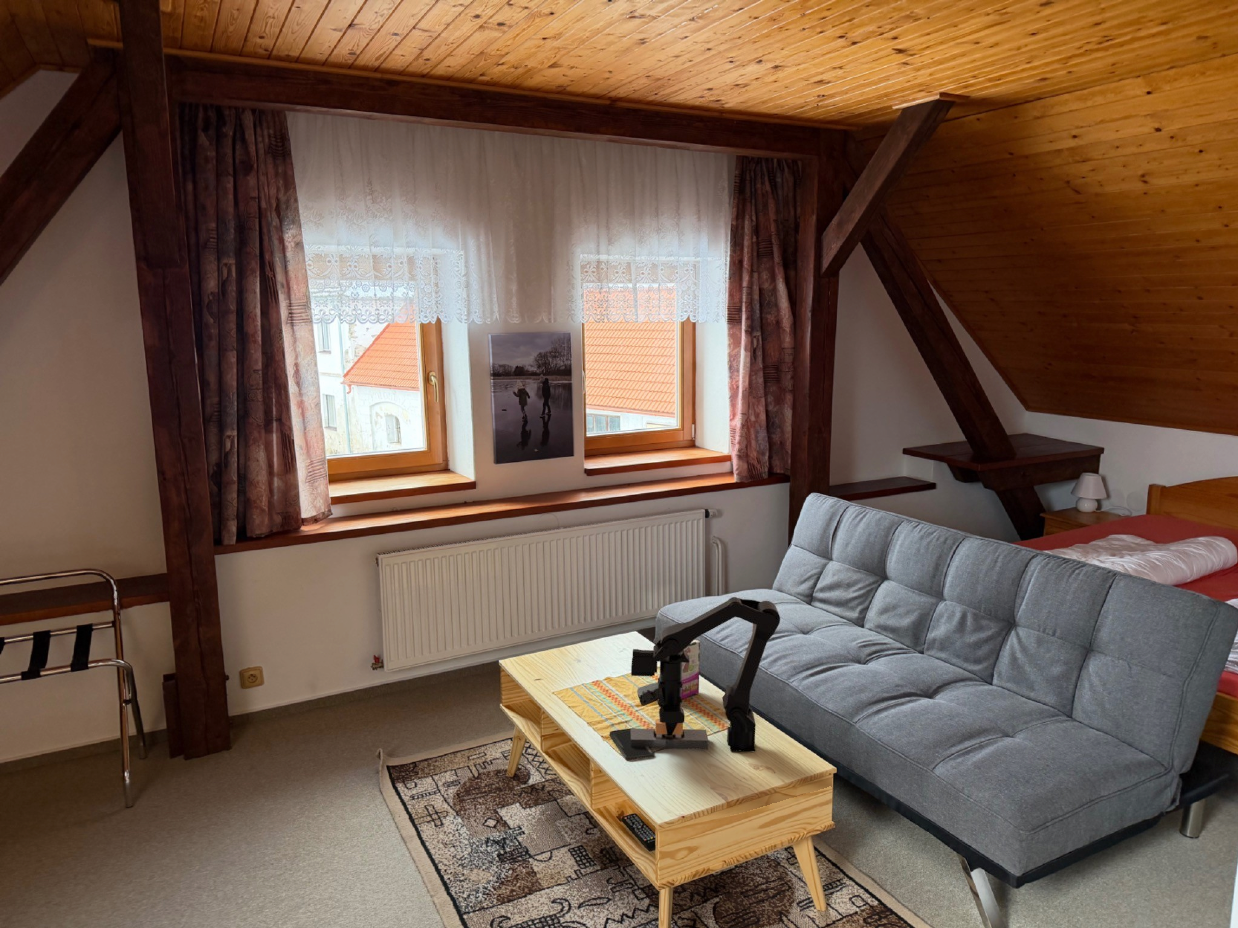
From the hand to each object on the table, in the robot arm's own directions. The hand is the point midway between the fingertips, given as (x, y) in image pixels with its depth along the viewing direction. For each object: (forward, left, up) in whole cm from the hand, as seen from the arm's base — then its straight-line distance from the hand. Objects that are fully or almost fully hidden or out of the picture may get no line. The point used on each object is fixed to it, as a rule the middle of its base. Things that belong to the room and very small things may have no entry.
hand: (669, 732), depth 234 cm
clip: (0, 0, -2) cm, 2 cm away
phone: (+10, +1, -4) cm, 11 cm away
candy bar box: (-5, -29, -3) cm, 30 cm away
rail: (0, 0, -3) cm, 3 cm away
